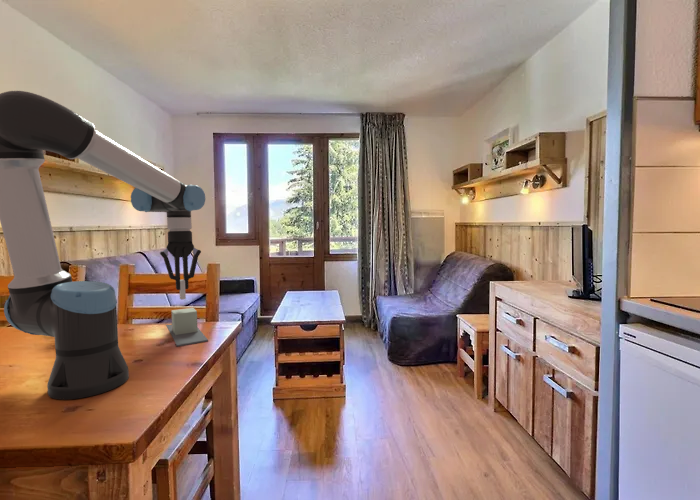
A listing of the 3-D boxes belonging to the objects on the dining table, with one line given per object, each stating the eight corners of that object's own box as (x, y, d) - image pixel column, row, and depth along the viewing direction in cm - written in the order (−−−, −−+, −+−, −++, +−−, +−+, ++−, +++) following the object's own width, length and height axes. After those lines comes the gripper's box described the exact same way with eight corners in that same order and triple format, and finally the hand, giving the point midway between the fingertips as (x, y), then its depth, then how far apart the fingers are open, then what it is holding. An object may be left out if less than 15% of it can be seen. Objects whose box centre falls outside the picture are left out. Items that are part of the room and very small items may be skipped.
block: (193, 326, 130) (197, 331, 124) (172, 330, 126) (175, 335, 120) (193, 307, 129) (196, 311, 123) (171, 310, 126) (174, 314, 120)
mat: (208, 341, 115) (208, 339, 115) (176, 346, 110) (176, 345, 110) (192, 322, 138) (192, 320, 138) (165, 325, 133) (165, 324, 133)
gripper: (198, 230, 131) (200, 295, 132) (157, 230, 124) (160, 299, 125) (202, 230, 124) (204, 298, 126) (159, 230, 117) (162, 303, 119)
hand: (182, 298), depth 126 cm, fingers closed
